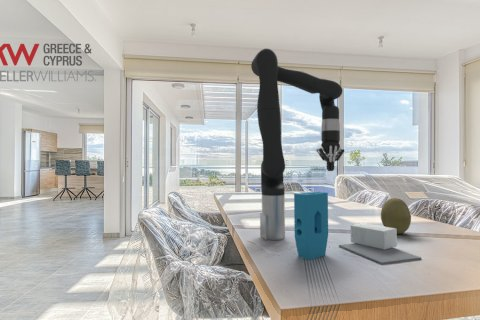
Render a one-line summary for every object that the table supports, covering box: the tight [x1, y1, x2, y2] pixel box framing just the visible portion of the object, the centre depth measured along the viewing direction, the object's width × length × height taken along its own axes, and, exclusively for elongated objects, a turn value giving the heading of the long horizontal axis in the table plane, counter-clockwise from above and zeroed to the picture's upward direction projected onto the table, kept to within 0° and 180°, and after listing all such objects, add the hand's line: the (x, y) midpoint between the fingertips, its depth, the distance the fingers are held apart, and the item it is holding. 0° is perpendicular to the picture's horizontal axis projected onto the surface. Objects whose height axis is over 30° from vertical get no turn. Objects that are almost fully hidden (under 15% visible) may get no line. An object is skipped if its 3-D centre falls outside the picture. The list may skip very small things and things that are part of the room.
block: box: [293, 191, 329, 261], centre depth 94 cm, size 12×5×20 cm, turn 128°
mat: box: [338, 243, 422, 265], centre depth 97 cm, size 15×20×1 cm
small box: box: [350, 222, 398, 250], centre depth 105 cm, size 8×6×13 cm
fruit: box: [380, 197, 412, 235], centre depth 124 cm, size 11×11×15 cm
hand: (330, 170), depth 125 cm, fingers closed
